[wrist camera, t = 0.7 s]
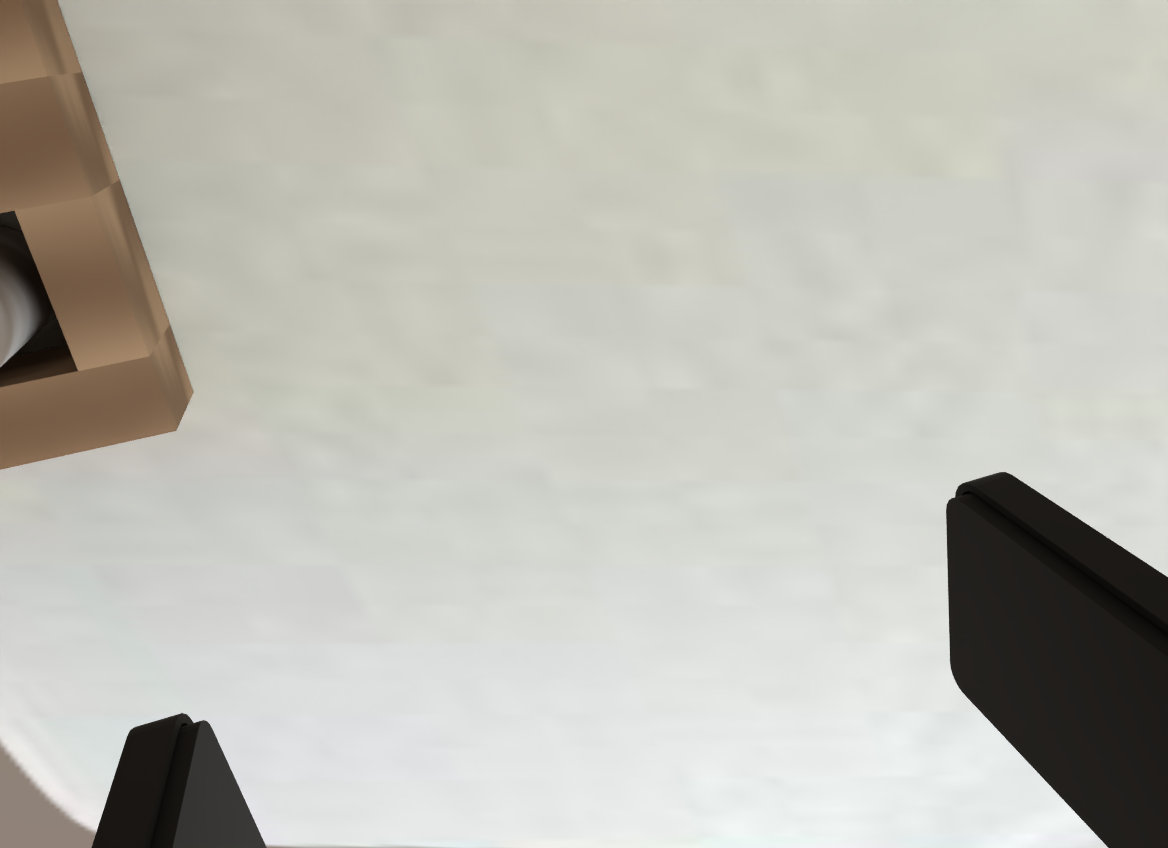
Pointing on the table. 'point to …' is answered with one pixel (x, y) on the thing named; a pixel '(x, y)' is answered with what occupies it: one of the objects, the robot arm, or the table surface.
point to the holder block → (71, 264)
